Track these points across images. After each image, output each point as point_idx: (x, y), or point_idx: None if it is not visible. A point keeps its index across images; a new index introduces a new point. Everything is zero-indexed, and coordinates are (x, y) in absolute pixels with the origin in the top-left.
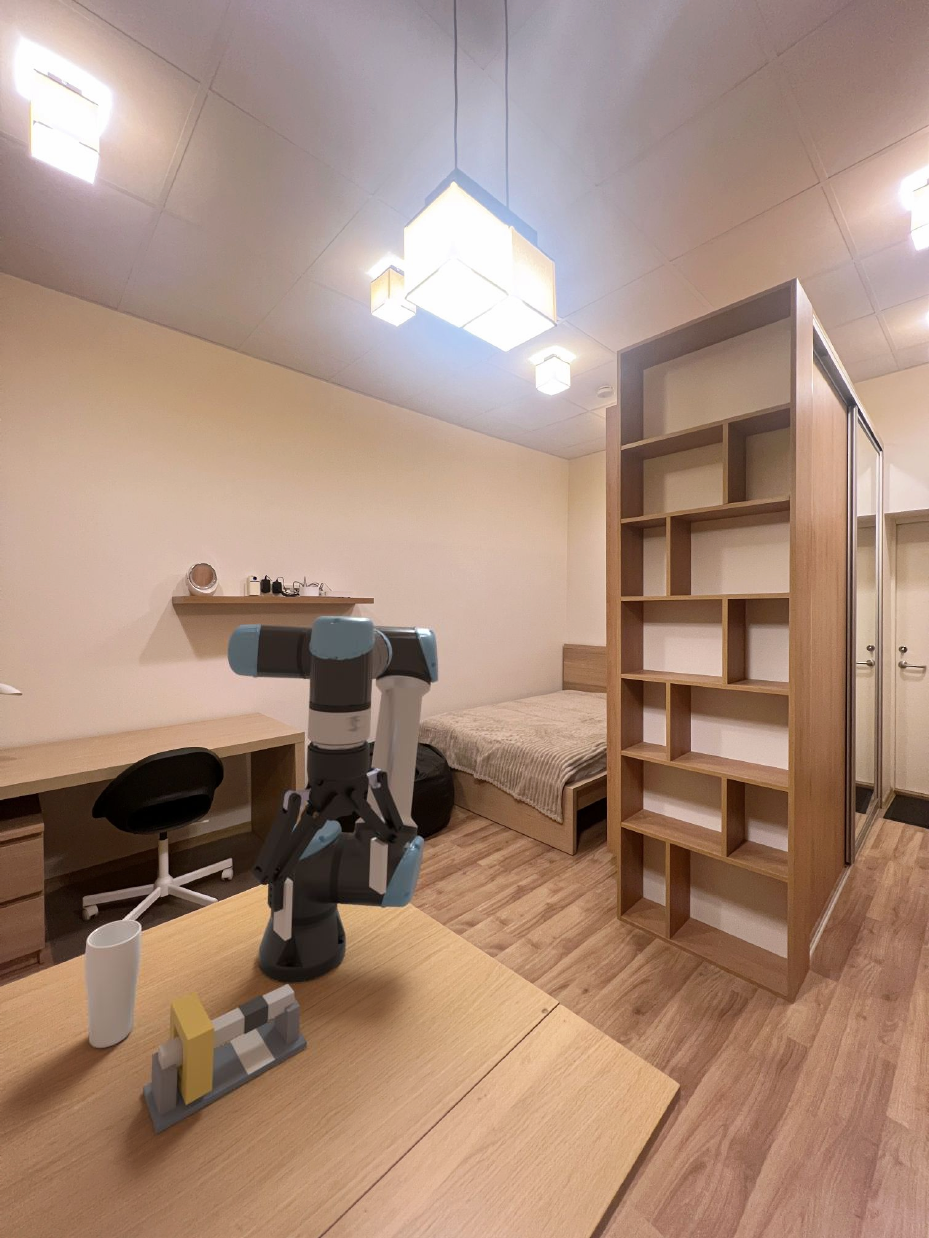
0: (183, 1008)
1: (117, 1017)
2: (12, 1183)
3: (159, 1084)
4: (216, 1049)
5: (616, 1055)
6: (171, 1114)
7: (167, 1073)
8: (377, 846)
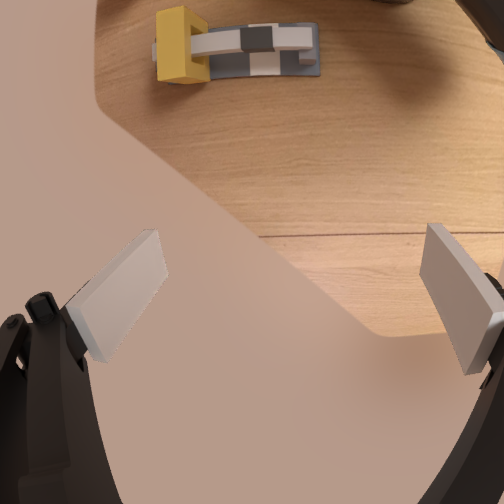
0: (164, 28)
1: None
2: (94, 75)
3: None
4: (233, 27)
5: None
6: None
7: None
8: (472, 339)
